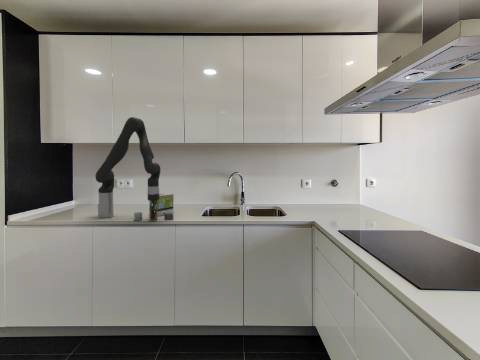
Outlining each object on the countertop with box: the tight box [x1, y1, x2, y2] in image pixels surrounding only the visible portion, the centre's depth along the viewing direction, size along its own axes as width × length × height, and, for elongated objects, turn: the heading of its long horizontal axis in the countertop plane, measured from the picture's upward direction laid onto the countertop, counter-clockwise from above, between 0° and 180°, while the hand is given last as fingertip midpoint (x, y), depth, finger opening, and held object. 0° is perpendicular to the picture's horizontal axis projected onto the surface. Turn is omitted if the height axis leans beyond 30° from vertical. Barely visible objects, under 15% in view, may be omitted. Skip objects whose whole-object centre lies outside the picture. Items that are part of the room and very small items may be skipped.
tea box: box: [148, 192, 174, 217], centre depth 221 cm, size 15×10×15 cm, turn 149°
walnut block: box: [149, 211, 159, 222], centre depth 201 cm, size 4×4×6 cm
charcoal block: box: [163, 213, 174, 221], centre depth 203 cm, size 5×5×4 cm
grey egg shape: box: [133, 211, 143, 222], centre depth 200 cm, size 5×5×5 cm
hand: (153, 217), depth 201 cm, fingers open, 8 cm apart
